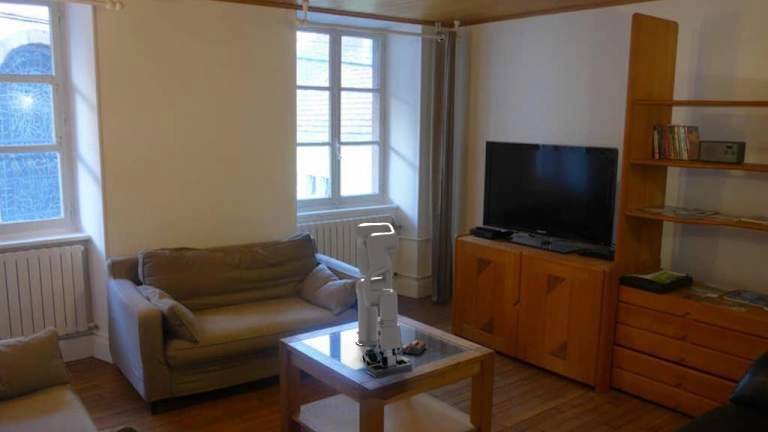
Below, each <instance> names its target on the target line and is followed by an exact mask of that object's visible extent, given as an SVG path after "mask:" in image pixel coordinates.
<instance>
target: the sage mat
mask: <svg viewBox="0 0 768 432" xmlns="http://www.w3.org/2000/svg"><path fill="white" fill-rule="evenodd" d="M401 358H402V359H403V360H405V361H407V362H411V360H410V359H409V358H407V357H406V356H404V355H401V354H400V355H397V359H401Z"/></svg>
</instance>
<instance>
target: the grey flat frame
mask: <svg viewBox="0 0 768 432" xmlns="http://www.w3.org/2000/svg"><path fill="white" fill-rule="evenodd" d="M412 366H413V365H412V363H411V362H410V361H408V362H407V361H405V360H403V359H402V358H401V359H397V361H396V366H394V367H389V368H387V367H385V366H383V364H382V362H381V363H379V364H377V363H376V364H373V365H371V364H370V366H367V365H366V372H367V371H368V372H370V373H371V374H373V375H374V376H376V377H378V378H380V377H379V376H382V377H385V375H386V376H389V374H390V375H394V374H397V373H401V372H402V373H403V372H406V371H411V370H412V369H413V367H412ZM410 369H411V370H410ZM368 372H367V373H368ZM371 374H370V375H371ZM373 375H372V376H373ZM374 376H373V377H374ZM376 377H375V378H376Z"/></svg>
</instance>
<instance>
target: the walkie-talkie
mask: <svg viewBox="0 0 768 432" xmlns="http://www.w3.org/2000/svg"><path fill="white" fill-rule="evenodd" d="M425 348H426V341H424V340H418V339H415V340H412V341H410V343H409V344H408V343H407V344H403V346H402V347H401V348H400V350H399V351H398V354H397V356H400V355H401V353H403V352H405V353H407V354H413V355H419V354H420V353H422V351H423V350H425Z"/></svg>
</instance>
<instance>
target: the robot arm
mask: <svg viewBox="0 0 768 432" xmlns="http://www.w3.org/2000/svg"><path fill="white" fill-rule="evenodd" d="M354 237H355V240H356V244H357V245H358V246H357V247H358V272H359V274H360V276H363V277H364V278H360V279H359V280H357V281H356V283H355V292H356V295H357V296H356V297H357V314H358V315H357V317H358V318H357V319H358V320H357V321H358V324H357V325H358V328H357V329H358V331H357V332H356V334H357V336H358V337H357V338H359V339H358V341H357V342H358V343H359V344H362V345H367V346H366V347H372V346H373V347H374V346H375V348H374V352H375V353H378V354H379V355H380V356H381V363H382V364H383V365H385V366H387V357H386V354H387V352H388V351H390V350H391V353H392V354H394V355H396V361H397V356H398V355H397V354H398V352H399V351H401V347H403V346H404V342H403V341H402V340H403V339H402V332H401V326H400V324H399V323H398V321H399V319H398V318H399V315H398V314H399V312H398V304H399V303H398V293H397V292H396V290H395V289H394V288H393V262H392V259H391V257H390V256H388V252H395V251H398V249H399V246H400V241H399V236H398V234H397V232H396V230H395V228H394V227H393V225H392V223H389V222H377V223H373V222H371V223H361V224H358V225H356V226H355V228H354ZM375 276H378V277H375ZM379 276H381V277H379ZM362 345H361V346H362Z"/></svg>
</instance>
